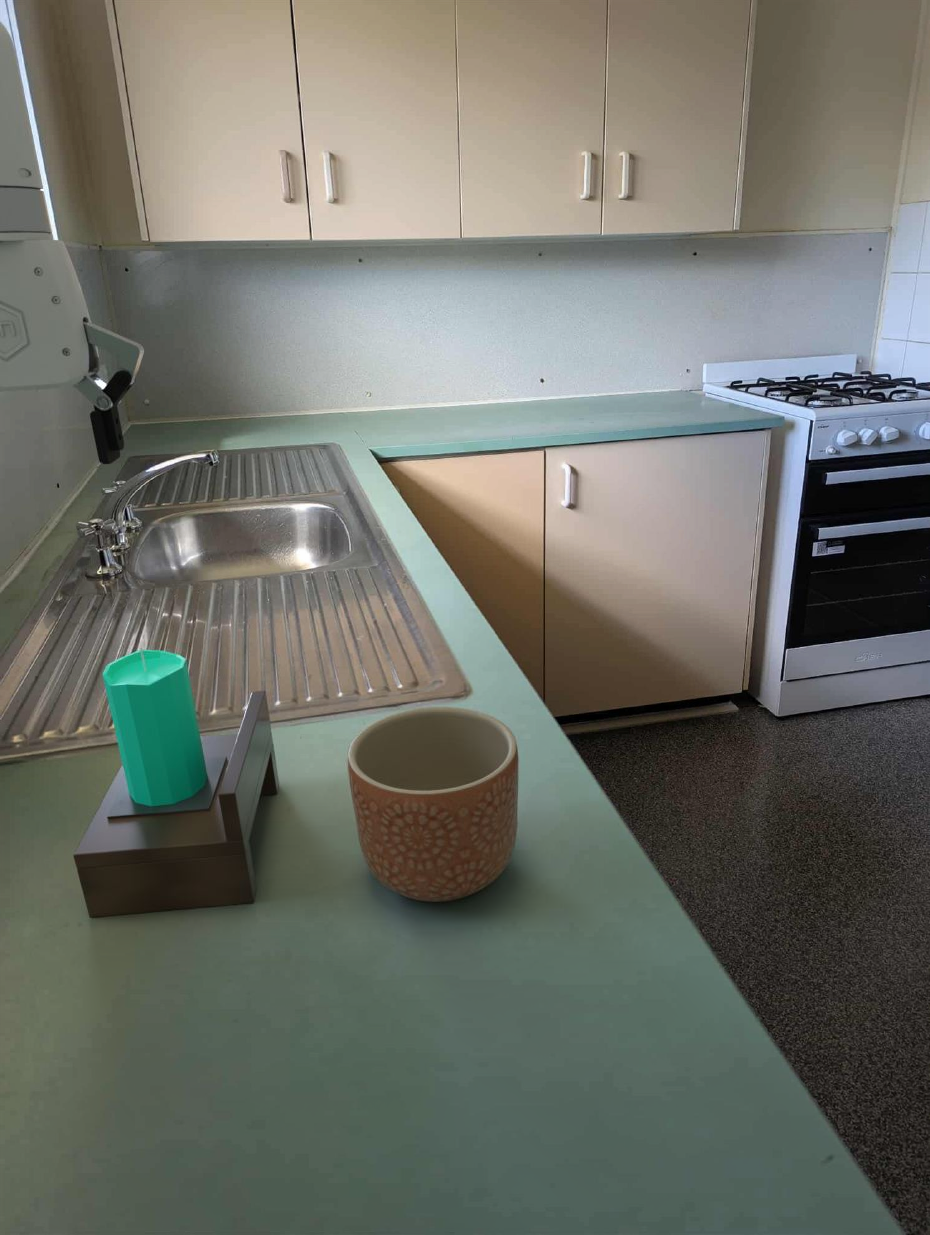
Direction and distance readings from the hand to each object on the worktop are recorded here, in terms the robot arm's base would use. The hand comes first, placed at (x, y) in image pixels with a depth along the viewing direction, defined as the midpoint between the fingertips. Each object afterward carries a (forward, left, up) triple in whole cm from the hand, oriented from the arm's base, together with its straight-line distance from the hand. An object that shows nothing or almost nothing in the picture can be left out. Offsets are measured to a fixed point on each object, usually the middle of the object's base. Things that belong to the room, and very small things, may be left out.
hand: (47, 464), depth 67 cm
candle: (+7, -8, -25) cm, 27 cm away
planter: (+28, -14, -31) cm, 44 cm away
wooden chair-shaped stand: (+8, -8, -30) cm, 32 cm away
